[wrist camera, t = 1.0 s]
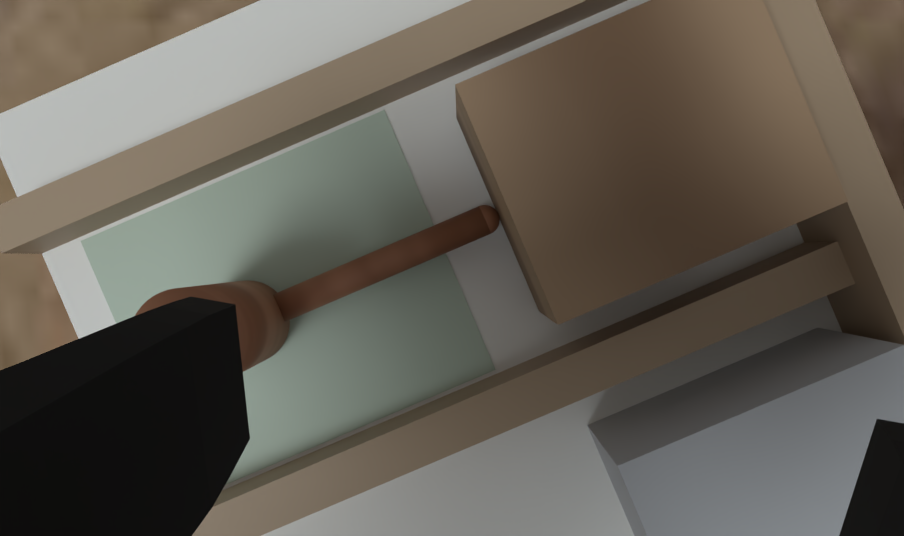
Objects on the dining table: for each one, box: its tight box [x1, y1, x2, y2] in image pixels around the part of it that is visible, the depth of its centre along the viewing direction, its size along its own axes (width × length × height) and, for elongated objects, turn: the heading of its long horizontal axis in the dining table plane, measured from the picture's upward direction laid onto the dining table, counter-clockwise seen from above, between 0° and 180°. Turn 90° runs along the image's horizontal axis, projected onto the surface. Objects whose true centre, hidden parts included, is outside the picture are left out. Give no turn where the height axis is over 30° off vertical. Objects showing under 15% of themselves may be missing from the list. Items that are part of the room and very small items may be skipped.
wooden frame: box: [0, 0, 904, 536], centre depth 20 cm, size 18×22×4 cm
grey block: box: [587, 328, 904, 536], centre depth 18 cm, size 6×5×4 cm
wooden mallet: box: [135, 0, 848, 372], centre depth 18 cm, size 14×5×5 cm, turn 113°
